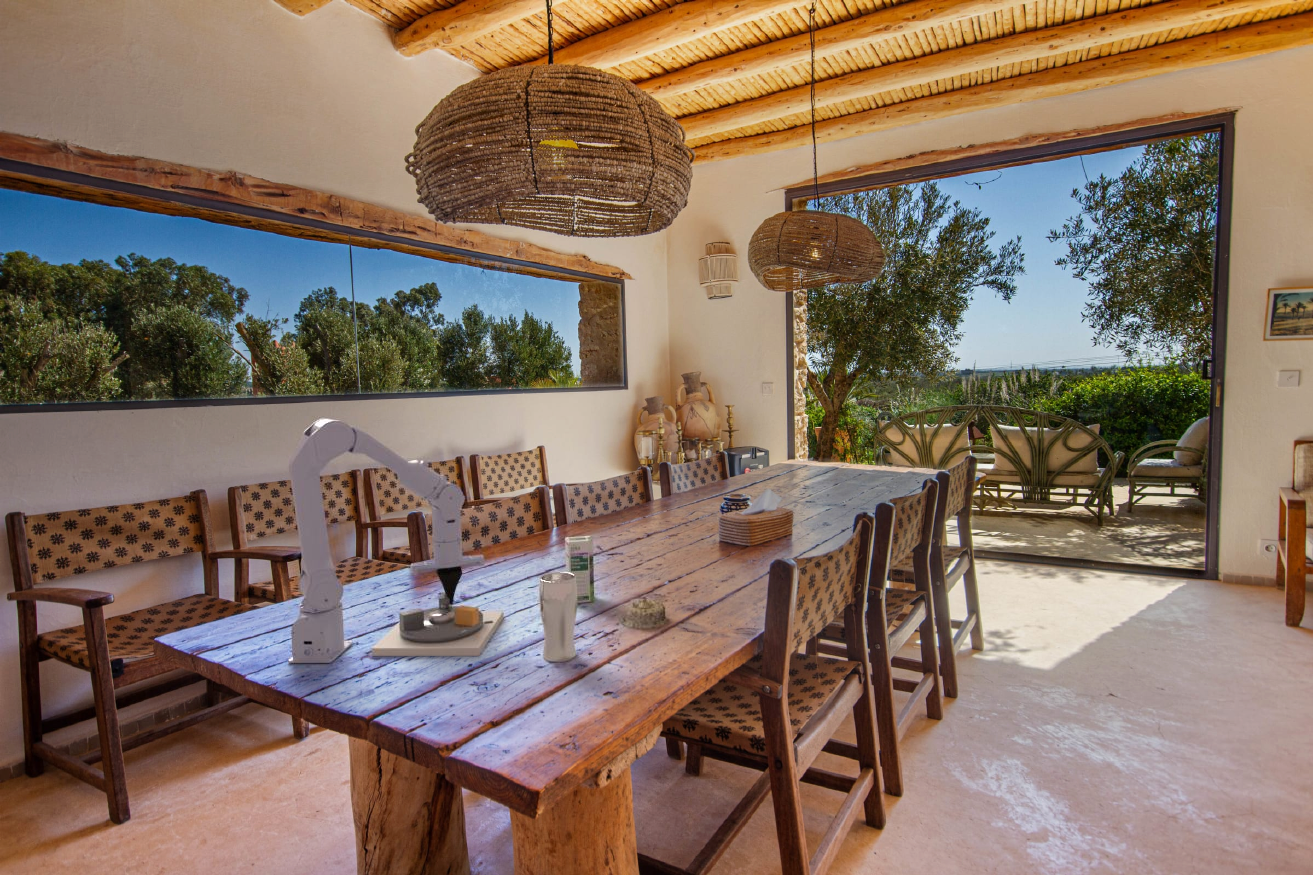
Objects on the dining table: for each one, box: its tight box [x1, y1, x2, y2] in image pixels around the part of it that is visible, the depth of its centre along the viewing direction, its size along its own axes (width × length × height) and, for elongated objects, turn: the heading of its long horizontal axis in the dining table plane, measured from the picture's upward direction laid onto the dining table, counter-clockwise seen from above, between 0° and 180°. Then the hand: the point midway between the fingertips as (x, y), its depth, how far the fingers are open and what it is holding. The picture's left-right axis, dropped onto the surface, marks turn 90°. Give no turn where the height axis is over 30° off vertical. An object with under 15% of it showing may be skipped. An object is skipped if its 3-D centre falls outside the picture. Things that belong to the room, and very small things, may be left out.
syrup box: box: [564, 535, 595, 604], centre depth 160 cm, size 6×6×14 cm
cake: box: [620, 598, 668, 630], centre depth 146 cm, size 10×10×5 cm
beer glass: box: [538, 571, 578, 663], centre depth 128 cm, size 7×7×15 cm
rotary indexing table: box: [398, 592, 483, 643], centre depth 138 cm, size 16×16×5 cm
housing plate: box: [371, 610, 504, 657], centre depth 139 cm, size 20×20×2 cm
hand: (449, 603), depth 145 cm, fingers closed, pressing on rotary indexing table
